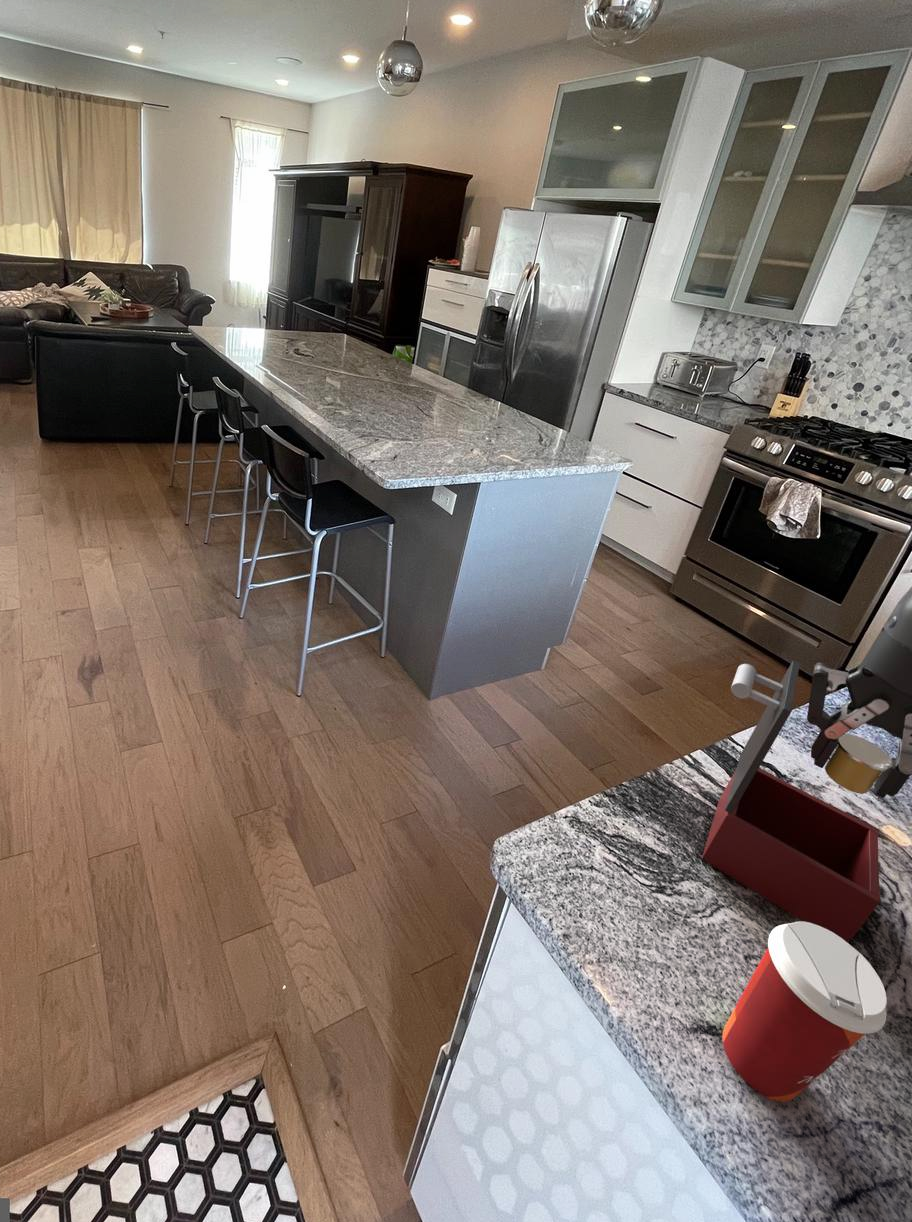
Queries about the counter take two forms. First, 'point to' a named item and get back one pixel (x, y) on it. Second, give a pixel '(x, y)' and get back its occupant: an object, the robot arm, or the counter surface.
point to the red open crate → (798, 854)
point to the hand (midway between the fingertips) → (847, 776)
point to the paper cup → (802, 1010)
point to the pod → (857, 763)
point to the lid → (760, 723)
